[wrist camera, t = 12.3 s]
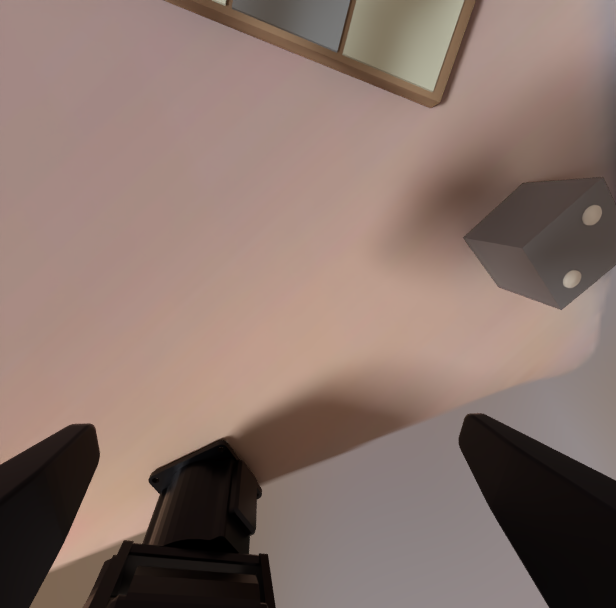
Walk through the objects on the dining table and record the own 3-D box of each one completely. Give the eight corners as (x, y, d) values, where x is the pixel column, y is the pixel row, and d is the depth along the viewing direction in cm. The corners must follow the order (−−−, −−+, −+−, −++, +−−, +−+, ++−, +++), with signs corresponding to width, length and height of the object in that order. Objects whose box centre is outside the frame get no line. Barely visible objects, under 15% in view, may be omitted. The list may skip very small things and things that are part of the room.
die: (497, 286, 22) (563, 310, 17) (462, 237, 20) (523, 248, 15) (553, 238, 21) (638, 248, 16) (521, 183, 20) (605, 176, 15)
